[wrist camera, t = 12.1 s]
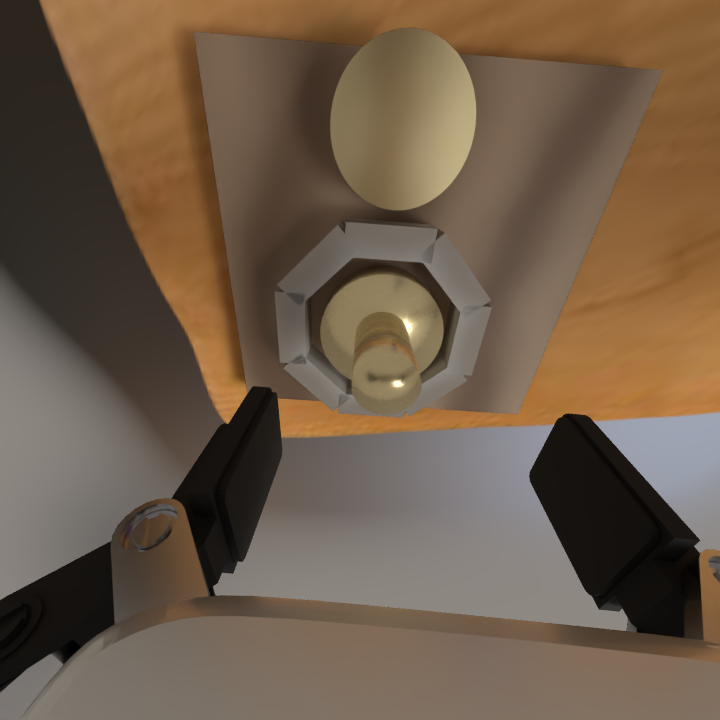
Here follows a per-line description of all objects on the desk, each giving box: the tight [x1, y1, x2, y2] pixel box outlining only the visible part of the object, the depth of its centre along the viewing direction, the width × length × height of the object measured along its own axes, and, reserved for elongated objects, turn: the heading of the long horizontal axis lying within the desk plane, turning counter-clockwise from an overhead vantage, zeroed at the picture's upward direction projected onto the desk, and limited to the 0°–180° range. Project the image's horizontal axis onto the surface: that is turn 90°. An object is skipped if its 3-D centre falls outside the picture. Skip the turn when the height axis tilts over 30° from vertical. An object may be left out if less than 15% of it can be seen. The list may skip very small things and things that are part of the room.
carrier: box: [194, 28, 663, 418], centre depth 17 cm, size 20×19×4 cm
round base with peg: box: [320, 266, 444, 415], centre depth 16 cm, size 7×7×7 cm
